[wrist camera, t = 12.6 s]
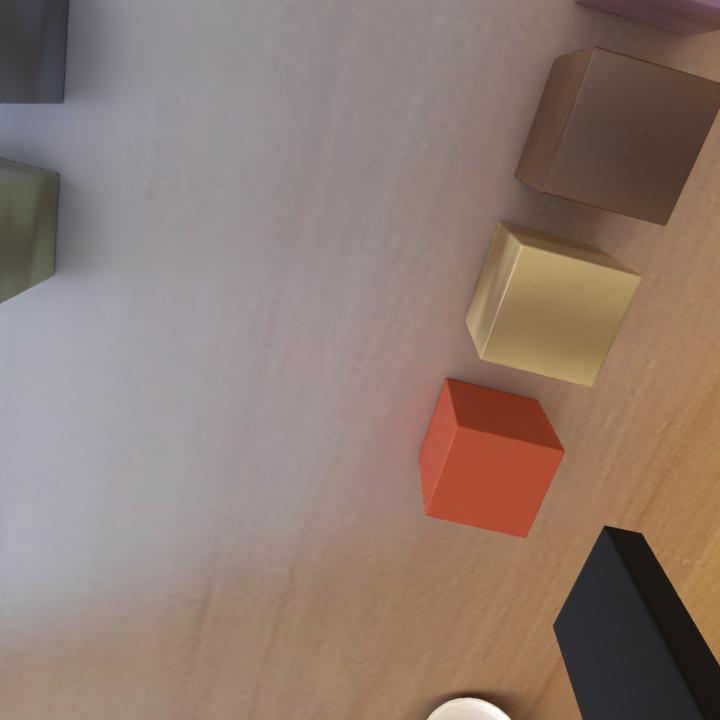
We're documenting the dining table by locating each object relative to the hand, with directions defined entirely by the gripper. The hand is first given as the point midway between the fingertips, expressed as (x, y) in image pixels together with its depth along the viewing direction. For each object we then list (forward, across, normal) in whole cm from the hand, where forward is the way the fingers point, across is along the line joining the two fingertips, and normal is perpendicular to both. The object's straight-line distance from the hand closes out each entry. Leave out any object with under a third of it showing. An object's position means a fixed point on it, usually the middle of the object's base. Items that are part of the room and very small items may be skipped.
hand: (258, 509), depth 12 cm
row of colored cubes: (+19, +10, +8) cm, 23 cm away
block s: (+19, +10, -7) cm, 22 cm away
